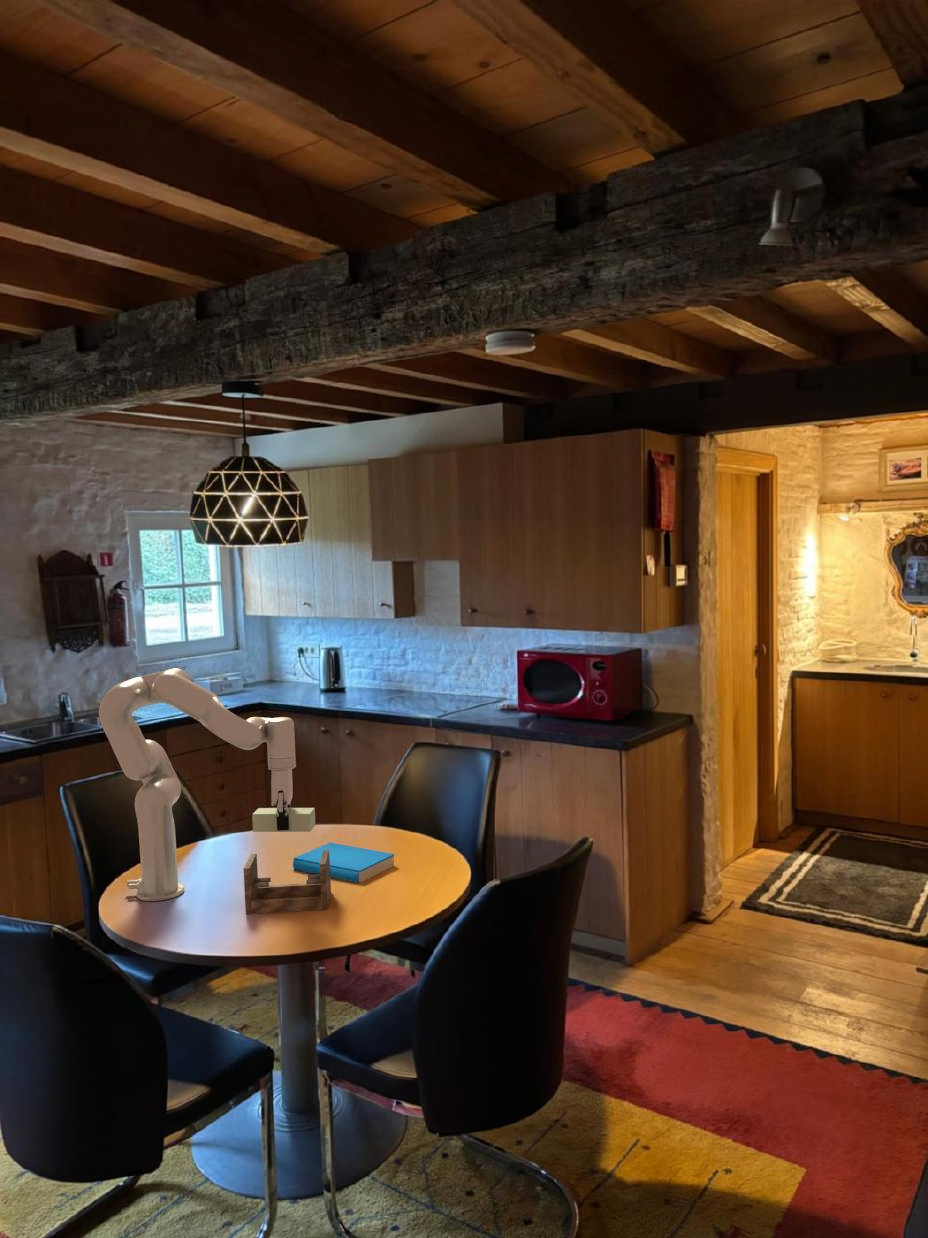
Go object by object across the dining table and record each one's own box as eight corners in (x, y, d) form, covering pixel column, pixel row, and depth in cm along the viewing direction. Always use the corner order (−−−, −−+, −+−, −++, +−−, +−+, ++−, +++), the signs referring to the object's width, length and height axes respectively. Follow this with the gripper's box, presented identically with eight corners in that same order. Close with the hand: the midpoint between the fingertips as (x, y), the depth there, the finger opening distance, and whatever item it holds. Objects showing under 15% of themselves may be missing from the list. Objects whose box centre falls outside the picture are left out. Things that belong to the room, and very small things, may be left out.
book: (329, 842, 288) (394, 852, 275) (330, 856, 288) (395, 866, 275) (291, 858, 274) (358, 870, 260) (292, 873, 274) (359, 885, 261)
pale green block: (252, 832, 256) (252, 814, 256) (259, 825, 262) (258, 808, 262) (310, 831, 255) (309, 813, 254) (315, 825, 261) (314, 807, 260)
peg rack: (245, 914, 241) (243, 868, 240) (253, 897, 253) (251, 854, 252) (327, 909, 242) (325, 864, 241) (331, 892, 254) (329, 849, 253)
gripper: (272, 756, 265) (275, 818, 267) (263, 770, 248) (266, 836, 249) (298, 755, 266) (301, 817, 267) (292, 769, 249) (295, 834, 250)
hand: (284, 825), depth 258 cm, fingers closed on pale green block, 6 cm apart
